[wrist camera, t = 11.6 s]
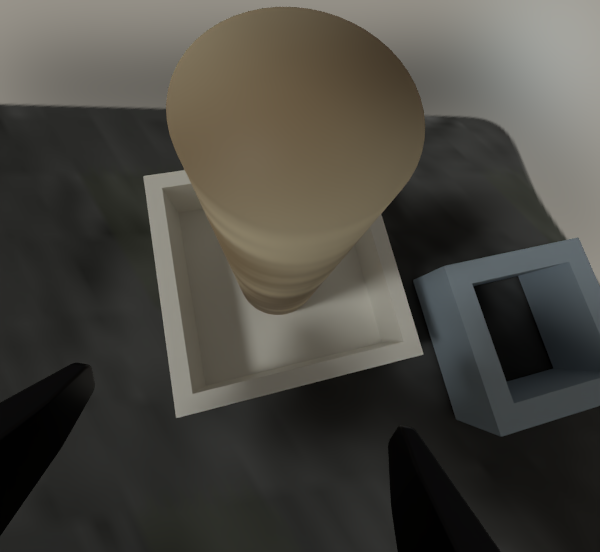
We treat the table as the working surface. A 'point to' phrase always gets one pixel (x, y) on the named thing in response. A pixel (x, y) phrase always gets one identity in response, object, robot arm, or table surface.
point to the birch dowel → (292, 143)
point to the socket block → (550, 321)
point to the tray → (261, 326)
